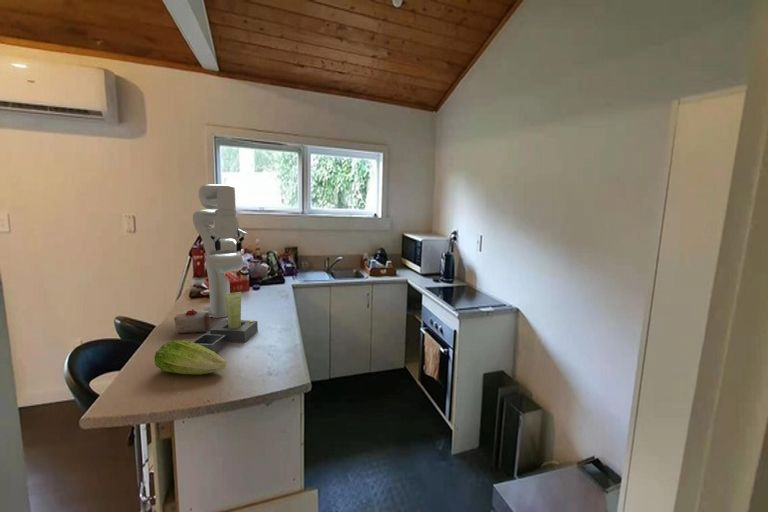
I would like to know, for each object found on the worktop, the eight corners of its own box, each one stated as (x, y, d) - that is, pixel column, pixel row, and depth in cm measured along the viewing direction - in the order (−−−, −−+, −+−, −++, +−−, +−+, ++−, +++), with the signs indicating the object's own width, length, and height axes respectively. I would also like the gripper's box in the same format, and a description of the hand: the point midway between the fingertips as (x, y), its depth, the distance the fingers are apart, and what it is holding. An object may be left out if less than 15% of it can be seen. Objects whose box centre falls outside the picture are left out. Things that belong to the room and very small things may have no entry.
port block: (210, 341, 150) (209, 328, 149) (225, 329, 163) (225, 318, 162) (244, 342, 149) (244, 330, 148) (257, 331, 162) (257, 320, 161)
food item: (172, 335, 156) (171, 313, 154) (179, 329, 163) (177, 308, 162) (206, 333, 158) (205, 312, 157) (211, 327, 166) (210, 307, 164)
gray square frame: (189, 353, 138) (188, 344, 137) (204, 342, 148) (203, 333, 147) (213, 354, 137) (212, 345, 136) (226, 344, 147) (226, 334, 147)
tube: (232, 333, 159) (230, 291, 156) (243, 333, 159) (241, 291, 156) (226, 338, 154) (224, 294, 151) (238, 338, 154) (236, 294, 151)
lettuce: (208, 372, 113) (227, 338, 122) (141, 361, 117) (164, 329, 125) (222, 389, 121) (239, 356, 130) (158, 378, 125) (179, 346, 134)
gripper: (203, 212, 156) (205, 251, 159) (241, 214, 155) (243, 252, 158) (212, 212, 163) (214, 248, 166) (249, 213, 162) (250, 250, 165)
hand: (228, 250), depth 162 cm, fingers open, 9 cm apart
